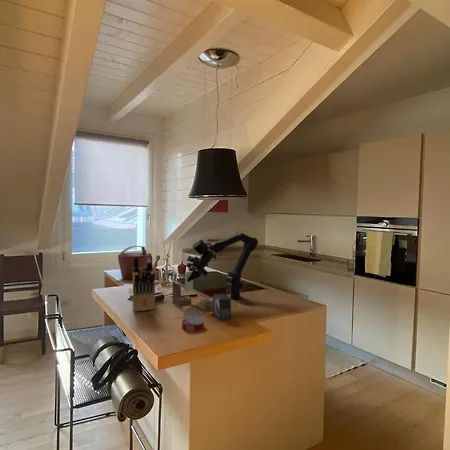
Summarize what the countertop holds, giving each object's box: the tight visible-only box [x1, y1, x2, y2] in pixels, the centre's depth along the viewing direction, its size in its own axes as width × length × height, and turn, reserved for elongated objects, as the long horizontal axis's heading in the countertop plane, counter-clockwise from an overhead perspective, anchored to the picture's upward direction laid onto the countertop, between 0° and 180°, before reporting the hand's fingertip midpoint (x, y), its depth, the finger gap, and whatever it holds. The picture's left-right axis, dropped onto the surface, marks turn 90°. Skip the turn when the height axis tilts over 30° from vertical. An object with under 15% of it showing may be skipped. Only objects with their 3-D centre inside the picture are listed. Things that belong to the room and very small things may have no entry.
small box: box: [212, 292, 232, 321], centre depth 165 cm, size 11×6×10 cm, turn 21°
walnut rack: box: [172, 280, 196, 308], centre depth 184 cm, size 10×9×13 cm
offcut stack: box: [196, 298, 213, 311], centre depth 178 cm, size 8×7×5 cm
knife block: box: [132, 252, 156, 312], centre depth 180 cm, size 11×35×31 cm, turn 16°
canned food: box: [181, 306, 205, 333], centre depth 150 cm, size 11×10×10 cm
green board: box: [184, 270, 194, 293], centre depth 186 cm, size 4×2×11 cm, turn 120°
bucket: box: [117, 245, 148, 281], centre depth 257 cm, size 24×22×25 cm
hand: (186, 280), depth 185 cm, fingers closed on green board, 2 cm apart
